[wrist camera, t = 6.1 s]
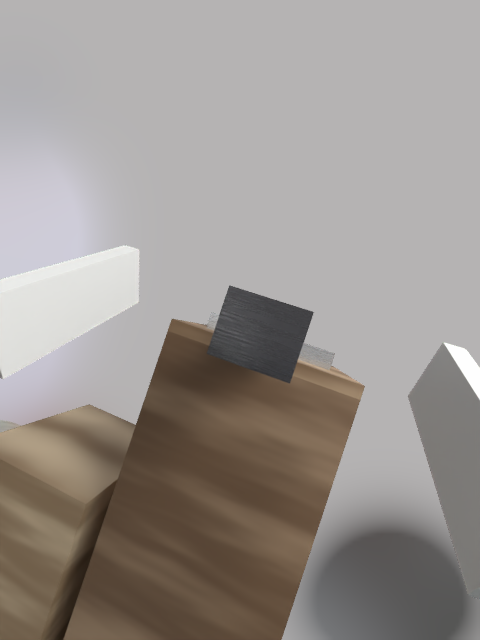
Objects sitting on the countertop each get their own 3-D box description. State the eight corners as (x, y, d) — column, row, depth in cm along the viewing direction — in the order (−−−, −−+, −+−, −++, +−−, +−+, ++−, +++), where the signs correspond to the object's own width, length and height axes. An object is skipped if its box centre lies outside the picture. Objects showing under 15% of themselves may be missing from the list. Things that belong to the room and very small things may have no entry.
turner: (418, 429, 7) (443, 352, 7) (103, 316, 8) (125, 252, 8) (312, 359, 28) (319, 340, 28) (228, 330, 29) (234, 312, 29)
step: (-28, 837, 18) (85, 504, 18) (-135, 742, 20) (-31, 442, 20) (100, 638, 29) (167, 439, 30) (25, 591, 31) (89, 404, 32)
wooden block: (160, 1006, 15) (364, 386, 15) (-10, 855, 17) (171, 318, 18) (217, 713, 27) (332, 366, 27) (112, 646, 29) (219, 327, 29)
